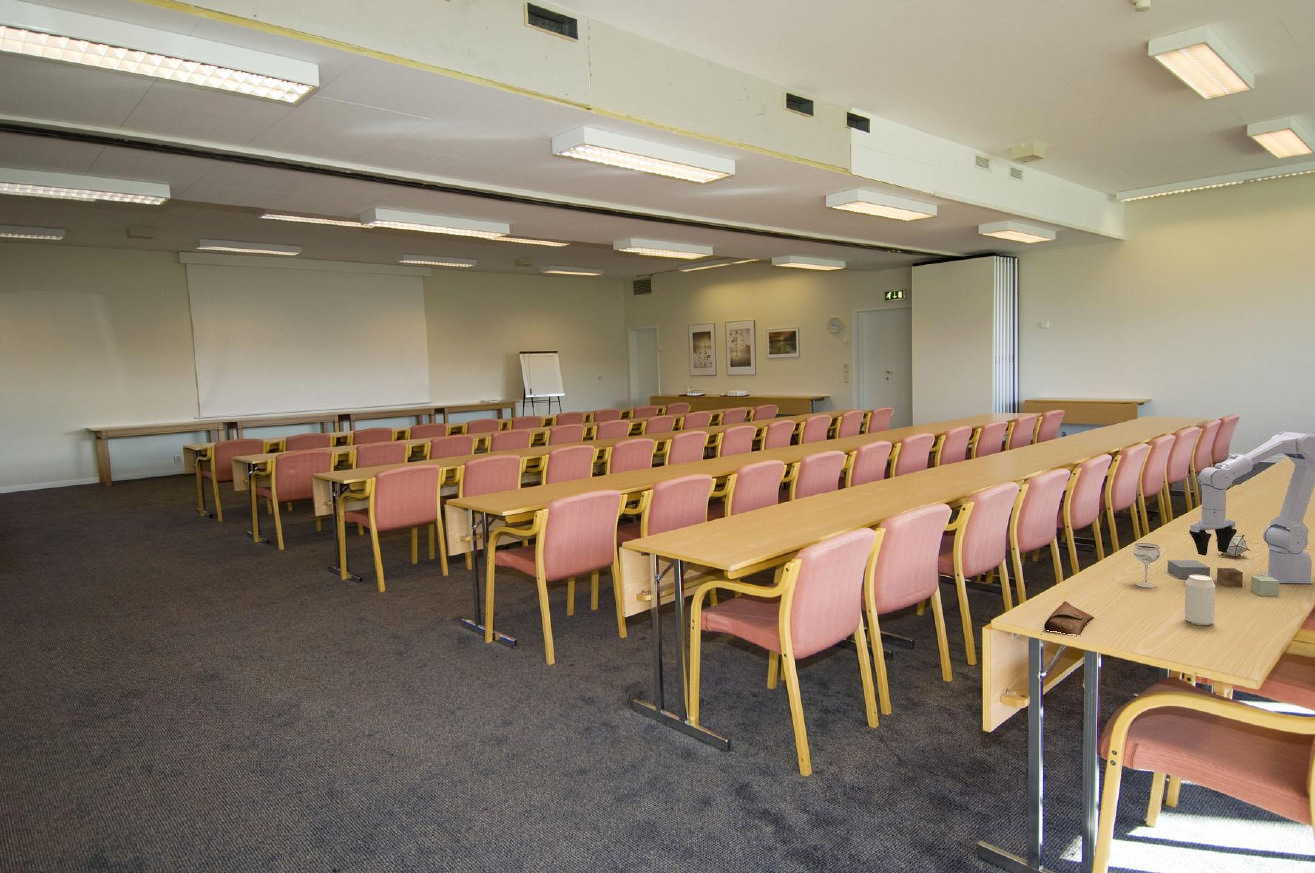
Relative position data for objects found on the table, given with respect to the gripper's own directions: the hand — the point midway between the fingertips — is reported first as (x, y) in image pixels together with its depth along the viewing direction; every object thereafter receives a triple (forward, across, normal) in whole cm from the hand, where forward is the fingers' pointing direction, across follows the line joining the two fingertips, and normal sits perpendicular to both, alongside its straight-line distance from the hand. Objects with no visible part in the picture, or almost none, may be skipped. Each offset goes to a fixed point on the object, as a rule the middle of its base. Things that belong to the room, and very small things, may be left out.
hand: (1212, 553), depth 225 cm
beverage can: (+9, +33, +24) cm, 42 cm away
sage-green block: (+9, -3, +13) cm, 16 cm away
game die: (+9, -31, -18) cm, 37 cm away
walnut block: (+9, -2, +4) cm, 10 cm away
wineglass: (+9, +19, -5) cm, 22 cm away
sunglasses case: (+9, +63, +14) cm, 65 cm away
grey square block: (+9, 0, -8) cm, 12 cm away
